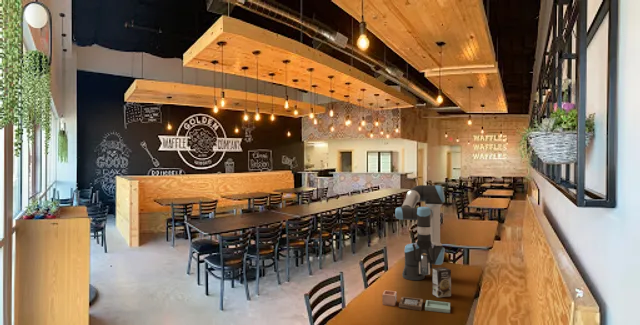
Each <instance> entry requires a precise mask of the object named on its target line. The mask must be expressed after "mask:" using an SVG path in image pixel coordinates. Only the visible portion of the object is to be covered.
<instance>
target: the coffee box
mask: <svg viewBox="0 0 640 325" xmlns="http://www.w3.org/2000/svg"><path fill="white" fill-rule="evenodd" d="M451 273H452V270H451V269H450V268H447V267H445V266H444V267H443V266H442V267H435V268H433V267H432V295H433V296H435V297H436V298H448V297H451V296H452V274H451Z"/></svg>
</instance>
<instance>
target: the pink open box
mask: <svg viewBox="0 0 640 325" xmlns="http://www.w3.org/2000/svg"><path fill="white" fill-rule="evenodd" d="M397 294H398V293H397V291H395V290H386V289H385V290H384V291H383V292H382V295H381V296H382V305H383V306H390V307H396V306H397V305H396V304H397V302H398V301H397V300H398V299H397V298H398V295H397Z"/></svg>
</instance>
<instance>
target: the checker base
mask: <svg viewBox="0 0 640 325" xmlns="http://www.w3.org/2000/svg"><path fill="white" fill-rule="evenodd" d="M405 299H410V300H418V304H417V305H408V304H404V302H405ZM423 304H424V299H423V298H416V297H408V296H401V298H400V300H399V303H398V308H399V309H406V310H415V311H422V309H423Z"/></svg>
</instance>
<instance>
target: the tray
mask: <svg viewBox="0 0 640 325" xmlns="http://www.w3.org/2000/svg"><path fill="white" fill-rule="evenodd" d="M424 311H429V312H435V313H437V312H438V313H444V314H451V302H446V301H438V300H431V299H429V300H428V299H425V305H424Z"/></svg>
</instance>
